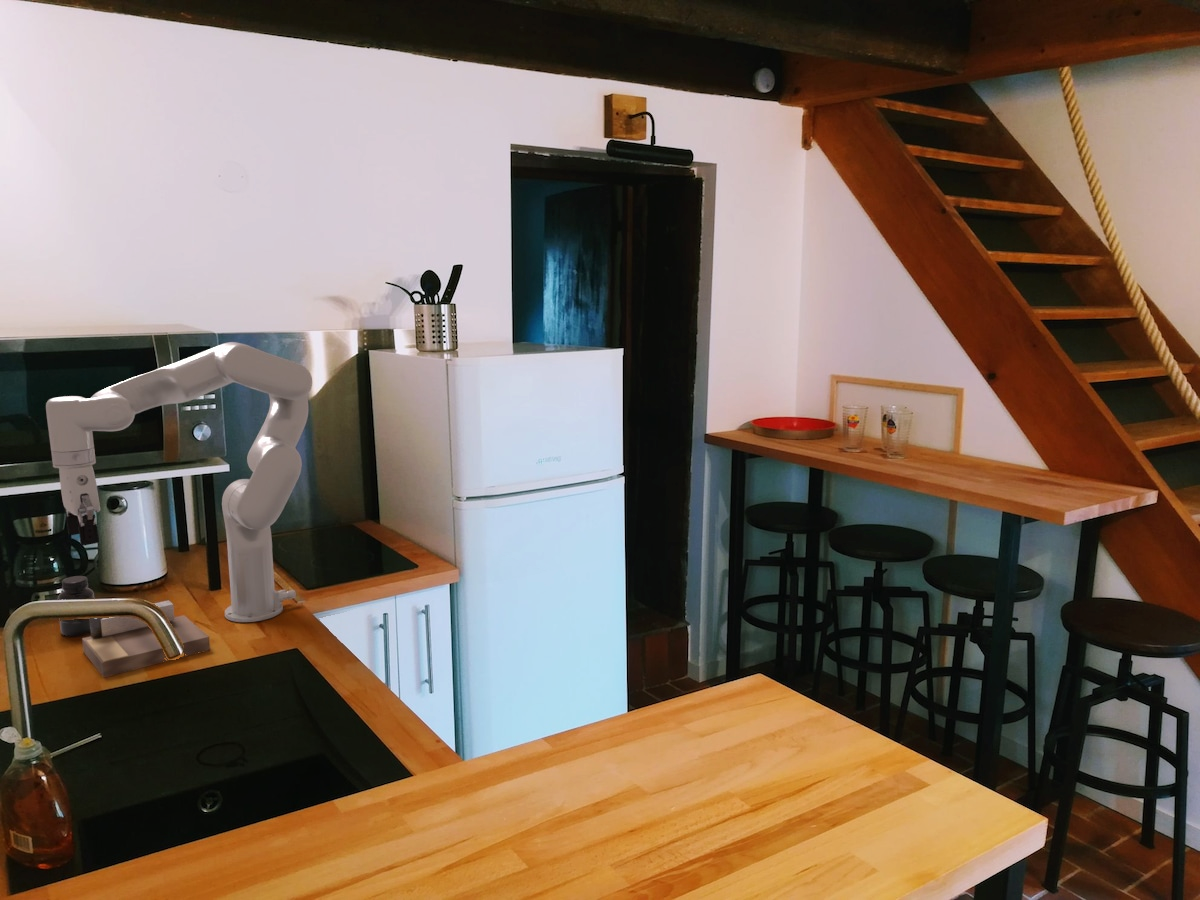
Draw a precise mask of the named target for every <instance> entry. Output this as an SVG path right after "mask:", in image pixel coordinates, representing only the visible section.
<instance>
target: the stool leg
mask: <svg viewBox="0 0 1200 900" xmlns="http://www.w3.org/2000/svg"><path fill="white" fill-rule="evenodd" d="M153 604H155V605H156V606H158V607H159V608H160V609H161V610H162V611H163V612H164V614H165V615H166V617H167V618H168V619H169V621H173V620H175V619H174V617H175V610H174V609H175V608H174V603H172V602H171V601H170V600H164V601H160V602H155V603H153ZM89 620H90V630H91V633H90V636H91V638H100V637H103V636H108V635H112V634H116V633H121V632H125V631H129V630H134V629H138V628H142V627H147V626H148V625H147V624H146V623H144V622H143V621H141V620H139V619H137V618H132V617H109V618H90V619H89Z"/></svg>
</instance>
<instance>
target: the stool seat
mask: <svg viewBox="0 0 1200 900" xmlns="http://www.w3.org/2000/svg"><path fill="white" fill-rule="evenodd" d="M174 619H175V620H173V621H170V623H171V624H172V626H173V628H174V629H175V631H176V632H177V634H178V636H179V637H180V639H181V641H182V643H183V645H184V656H185V654H186V655H189V656H193V655H196V654H195V653H197V654H199V653H198V652H201V653H204V652H203V651H205V652H209V651H211V643H210V636H209V635H208V634H207V633H206V632H205V631H203V630H202V629H201V628H200V627H198V626H197V625H196V624H195V623H194V622H193V621H191V619H189V618H188V617H187V616H186V615H185V614H182V615H178V616H174ZM81 640H82V651H83V653H84V654H85V656H86V657H87V658H88V660H89V661H90V662H91V664H92V665H93V666H94V667H95V669H96V670H97V672H99V674H100V675H101V677H103V678H108V677H111V676H114V675H115V676H116V675H119V674H123V673H127V672H130V671H134V670H135V671H136V670H138V669H142V668H146V667H150V666H153V665H157V664H158V665H159V664H162V663H166V662H169V661H171V660H168V659H167V658H166V656H165V654H164V652H163V649H162V647H161V646H160V644H159V642H158V640H157V639H156V637H155V635H154V634H153V632H152V630H151V629H150V628H149V627H148V626H147V627H142V628H138V629H134V630H129V631H125V632H121V633H116V634H112V635H108V636H103V637H100V638H91V635H90V636H86V637H82V638H81ZM208 650H209V651H208ZM192 654H193V655H192ZM185 657H186V656H185ZM164 658H166V659H167V660H168V661H166V660H165V659H164ZM163 661H164V662H163Z"/></svg>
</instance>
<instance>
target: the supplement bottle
mask: <svg viewBox="0 0 1200 900" xmlns="http://www.w3.org/2000/svg"><path fill="white" fill-rule="evenodd" d="M88 581H89V580H88V577H87V576H85V575H84V576H83V575H75V576H68V577H66V578H63V579H62V581H61V589H62V591H61V592H60V593H59V595H58V596H57V600H58V599H86V598H94V599H95V593H94V591H93V589H91V588H89V583H88ZM59 626H60V627H59V628H60V633H61V634H62V635H63V636H64V635H65V637H70V636H74V637H81V636H80V635H82V636H85V634H86V635H89V634H91V630H90V620H89V619H74V620H61V621H60V620H59ZM88 633H89V634H88Z"/></svg>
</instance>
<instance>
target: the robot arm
mask: <svg viewBox="0 0 1200 900" xmlns="http://www.w3.org/2000/svg"><path fill="white" fill-rule="evenodd" d="M233 383H235V384H239V385H241V386H243V387H246V388H249V389H252V390H255V391H258V392H261V393H264V394H268V397H269V409H268V412H267V415H266V418H265V420H264V423H263V424H262V425H261V428H260V430H259V432H258V433H257V436H256V437H255V439H254V441H253V443H252V445H251V447H250V449H249V451H248V453H247V459H246V462H247V465H248V468H249V469H250V471H251V472H252V474H251V476H250V478H241V479H240V478H239V479H236V480H234V481H233V482H231V483H230V484H229V485H228V486H227V487H226V488H225V490H224V491H223V494H222V498H221V508H222V509H221V510H222V515H223V521H224V526H225V527H224V528H225V535H226V546H227V560H228V572H229V573H228V576H229V577H228V578H229V586H230V588H229V589H230V602H231V603H230V604H231V605H229V606H227V608H225V610H224V617H225V618H226V619H227V620H229V621H231V622H236V623H252V622H253V623H254V622H261V621H266V620H269V619H272V618H274V617H276V616H279V614H281V613H282V612H283V610H284V608H283V603H282V602H284V601H285V600H291V599H295V598H296V597H297V593H296V591H295V589H291V590H286V589H279V590H276V589H275V576H274V574H275V573H274V561H273V560H274V558H273V541H272V530H271V526H272V525H274V523H276V521H278V518H279V517H280V515H281V514H282V512H283V510H284V509H285V506H286V504H287V502H288V501H289V499H290V496H291V494H292V492H293V490H294V488H295V487H296V484H297V482H298V480H299V477H300V476H301V473H302V468H303V467H302V466H303V465H302V463H303V462H302V457H301V455H300V452H299V451H298V450H297V448H296V447H297V444H298V443H299V440H300V439H301V436H302V434H303V431H304V428H305V426H306V424H307V422H308V419H309V418H308V417H309V401H308V394H309V393H310V392H311V390H312V387H313V377H312V374H311V373H310V370H309V369H308V368H307V367H306V366H304V365H303V364H302V363H299V362H296V361H293V360H290V359H288V358H287V359H286V358H283V357H281V356H278V355H275V354H272V353H269V352H266V351H263V350H261V349H258V348H256V347H253V346H251V345H248V344H245V343H240V342H238V341H237V342H236V341H230V342H224V343H221V344H218V345H216V346H214V347H211V348H209V349H206V350H203V351H201V352H198V353H196V354H194V355H192V356H188V357H187V358H183V359H181V360H179V361H175V362H173V363H170V364H168V365H166V366H165V365H164V366H162V367H159V368H156V369H154V370H152V371H149V372H146V373H143V374H139V375H137V376H133V377H131V378H128V379H126V380H124V381H120V382H118V383H116V384H113V385H111V386H108V387H106V388H105V387H104V389H101V390H98V391H97V392H95V393H94V394H93V395H92V396H91V397H90V398H86V397H83V396H79V395H69V396H68V395H67V396H66V395H64V396H58V397H52V398H49V399H48V400H47V402H45V411H46V412H45V413H46V420H47V428H48V429H47V430H48V437H49V445H50V452H51V460H52V468H54V469H58V470H59V471H58V474H59V483H60V491H61V493H60V494H61V498H62V503H63V507H64V509H65V513H66V517H65V518H66V525H67V533H68V535H69V536H76V535H79V542H80V545H81V546H82V547H83V546H87V545H93V544H94V545H95V544H98V543H99V541H100V539H99V531H98V523H97V518H96V514H95V513H99V512H101V503H100V499H99V491H98V485H97V480H96V476H95V471H94V468H93V465H95V464H96V463H97V460H96V454H95V444H94V434H93V432H118V431H122V430H125V429H127V428H129V426H130V425H131V424H132V423H133V422H134V419H135V416H136V415H137V414H140V413H142V412H144V411H148V410H150V409H154V408H156V407H160V406H164V405H174V404H175V405H176V404H183V403H186V402H191V401H193V400H195V399H198V398H200V397H201V396H204V395H206V394H209V393H211V392H214V391H215V390H219V389H220V388H224V387H226V386H228V385H230V384H233Z"/></svg>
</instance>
